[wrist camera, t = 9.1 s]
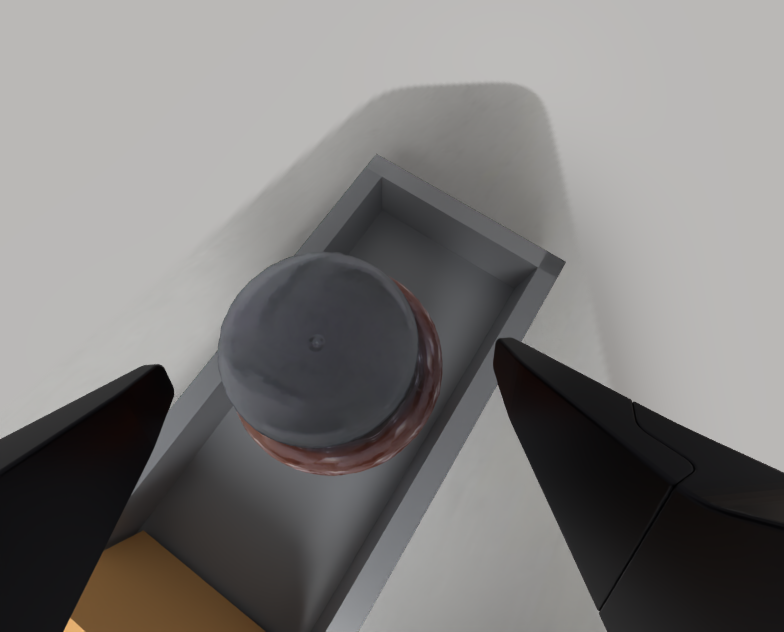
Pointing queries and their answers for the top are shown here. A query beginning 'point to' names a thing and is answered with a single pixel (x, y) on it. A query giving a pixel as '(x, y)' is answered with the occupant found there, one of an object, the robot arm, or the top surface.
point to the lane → (356, 490)
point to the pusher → (151, 595)
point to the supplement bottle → (330, 363)
